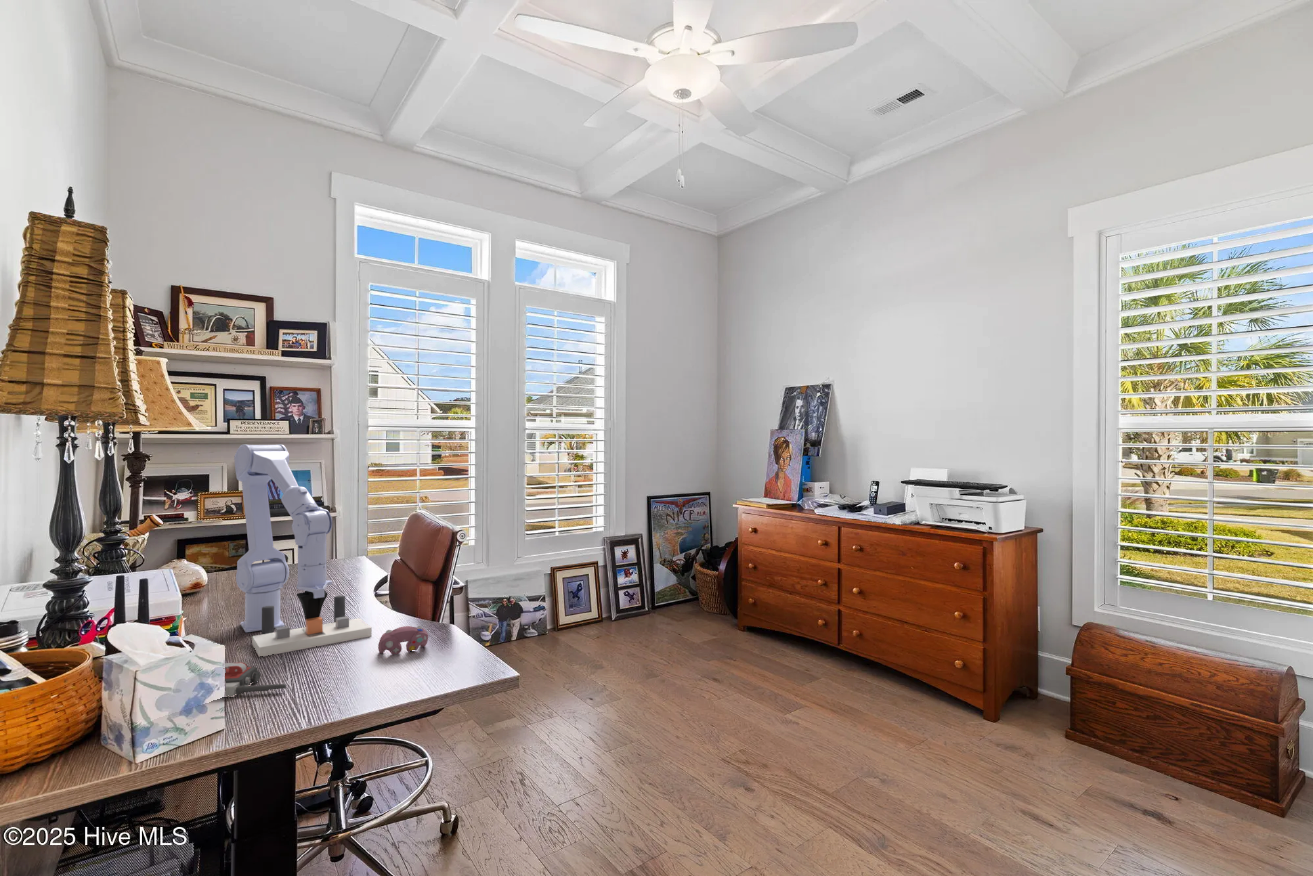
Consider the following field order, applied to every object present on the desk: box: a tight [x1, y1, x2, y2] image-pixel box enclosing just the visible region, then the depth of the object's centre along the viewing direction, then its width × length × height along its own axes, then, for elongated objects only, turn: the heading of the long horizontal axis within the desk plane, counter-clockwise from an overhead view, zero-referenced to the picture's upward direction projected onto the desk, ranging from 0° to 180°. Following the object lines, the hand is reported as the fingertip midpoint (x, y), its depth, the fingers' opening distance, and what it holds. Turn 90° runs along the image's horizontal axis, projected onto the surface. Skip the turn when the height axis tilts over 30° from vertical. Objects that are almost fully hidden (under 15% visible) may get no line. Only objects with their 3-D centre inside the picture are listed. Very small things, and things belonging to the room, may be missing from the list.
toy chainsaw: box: [224, 661, 287, 696], centre depth 114 cm, size 9×4×20 cm
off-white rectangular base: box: [251, 615, 373, 658], centre depth 141 cm, size 10×22×4 cm, turn 130°
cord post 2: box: [333, 595, 346, 623], centre depth 153 cm, size 2×2×7 cm
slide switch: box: [305, 616, 324, 635], centre depth 141 cm, size 2×3×3 cm, turn 130°
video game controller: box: [377, 625, 429, 655], centre depth 133 cm, size 10×5×7 cm, turn 118°
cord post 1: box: [261, 606, 275, 635], centre depth 144 cm, size 2×2×7 cm
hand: (312, 624), depth 142 cm, fingers closed
